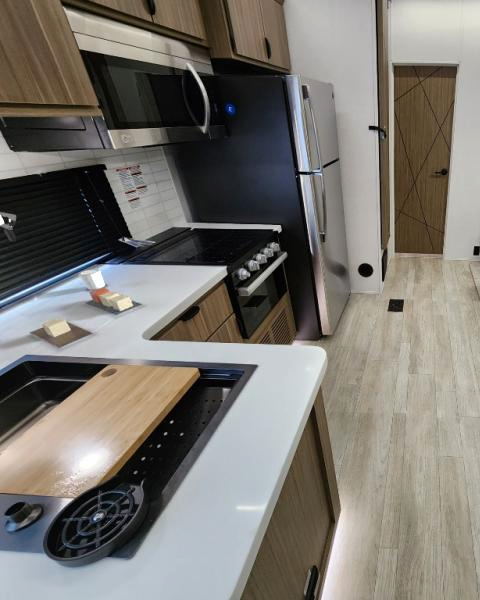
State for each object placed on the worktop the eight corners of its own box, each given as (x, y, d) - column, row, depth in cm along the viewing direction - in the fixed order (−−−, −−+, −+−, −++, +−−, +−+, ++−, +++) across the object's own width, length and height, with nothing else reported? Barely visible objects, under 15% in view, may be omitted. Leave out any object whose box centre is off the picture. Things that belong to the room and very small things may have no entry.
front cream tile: (54, 337, 107) (47, 326, 105) (47, 334, 109) (41, 323, 107) (71, 330, 111) (65, 320, 109) (64, 327, 113) (58, 317, 111)
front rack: (93, 334, 110) (93, 333, 109) (60, 349, 102) (59, 347, 102) (63, 321, 117) (62, 319, 117) (29, 334, 110) (29, 332, 110)
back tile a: (120, 311, 122) (115, 301, 120) (113, 308, 124) (109, 299, 122) (133, 305, 126) (129, 296, 124) (126, 303, 127) (122, 294, 125)
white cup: (105, 282, 146) (98, 267, 143) (107, 286, 142) (100, 271, 139) (85, 286, 142) (77, 272, 139) (87, 291, 138) (79, 276, 134)
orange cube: (100, 303, 127) (95, 294, 126) (93, 301, 129) (89, 292, 127) (113, 298, 131) (108, 289, 129) (106, 296, 133) (102, 287, 131)
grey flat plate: (143, 305, 127) (142, 304, 127) (117, 316, 120) (116, 315, 120) (110, 294, 135) (110, 293, 135) (84, 304, 128) (84, 302, 128)
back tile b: (109, 307, 125) (105, 298, 123) (103, 304, 126) (98, 295, 125) (122, 302, 128) (118, 293, 126) (116, 299, 130) (112, 290, 128)
